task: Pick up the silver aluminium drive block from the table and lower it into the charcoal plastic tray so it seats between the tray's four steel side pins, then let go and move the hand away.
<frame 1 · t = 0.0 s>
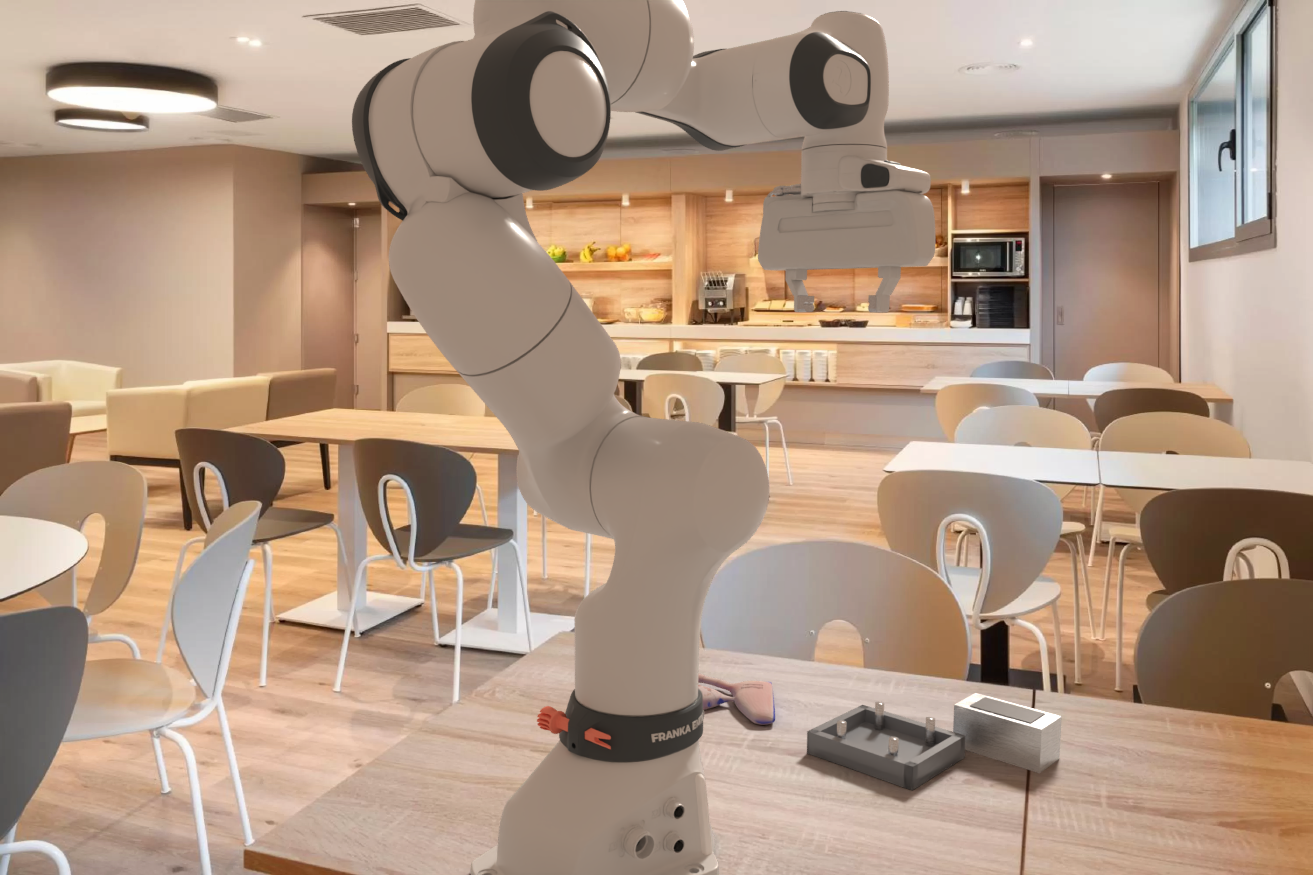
hand: (840, 312, 112), 48 cm above the table, tool pointing down, fingers open, 8 cm apart
drive: (1005, 753, 116), on the table
anatomical model: (691, 705, 131), on the table
pin tray: (885, 755, 115), on the table
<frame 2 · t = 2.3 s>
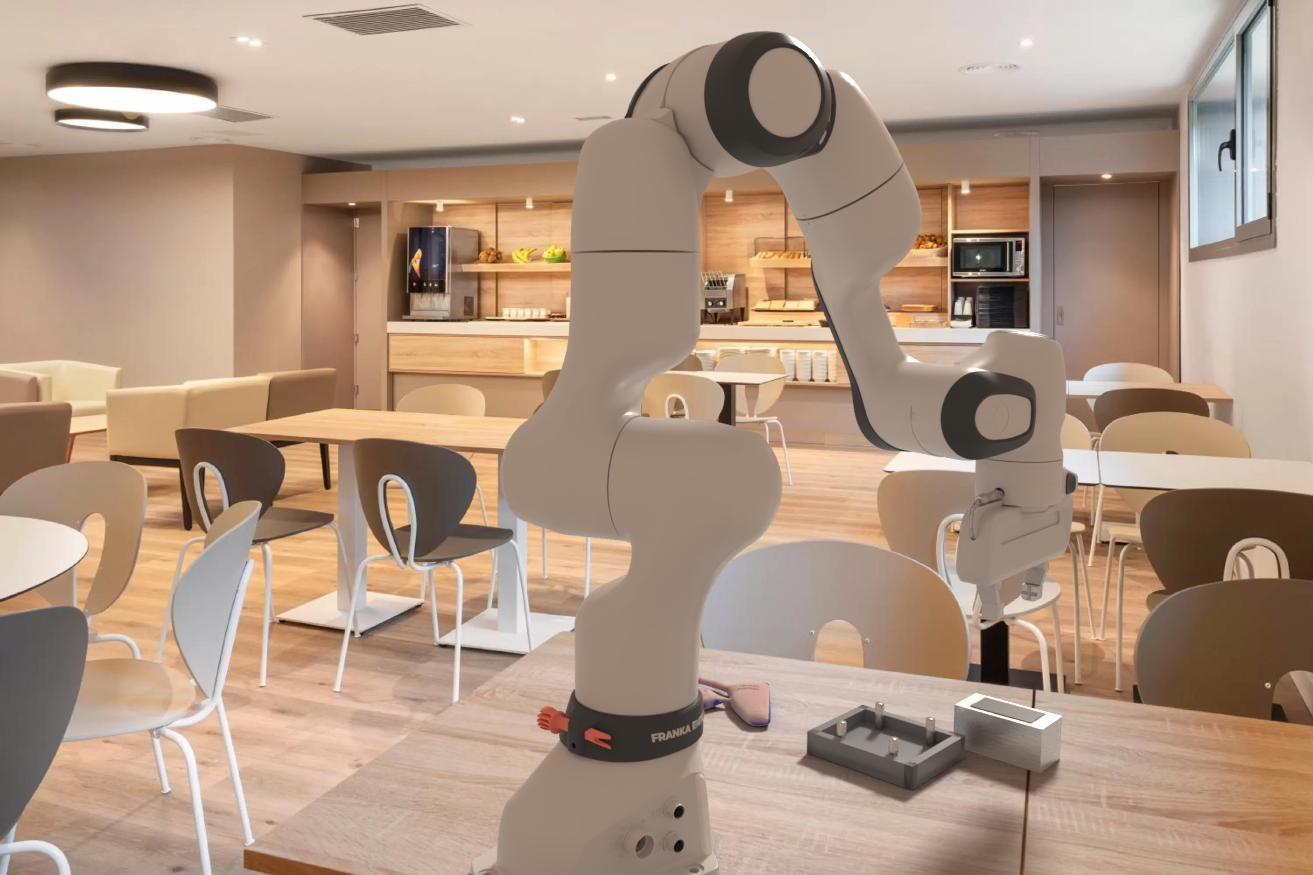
hand: (1012, 608, 115), 16 cm above the table, tool pointing down, fingers open, 8 cm apart
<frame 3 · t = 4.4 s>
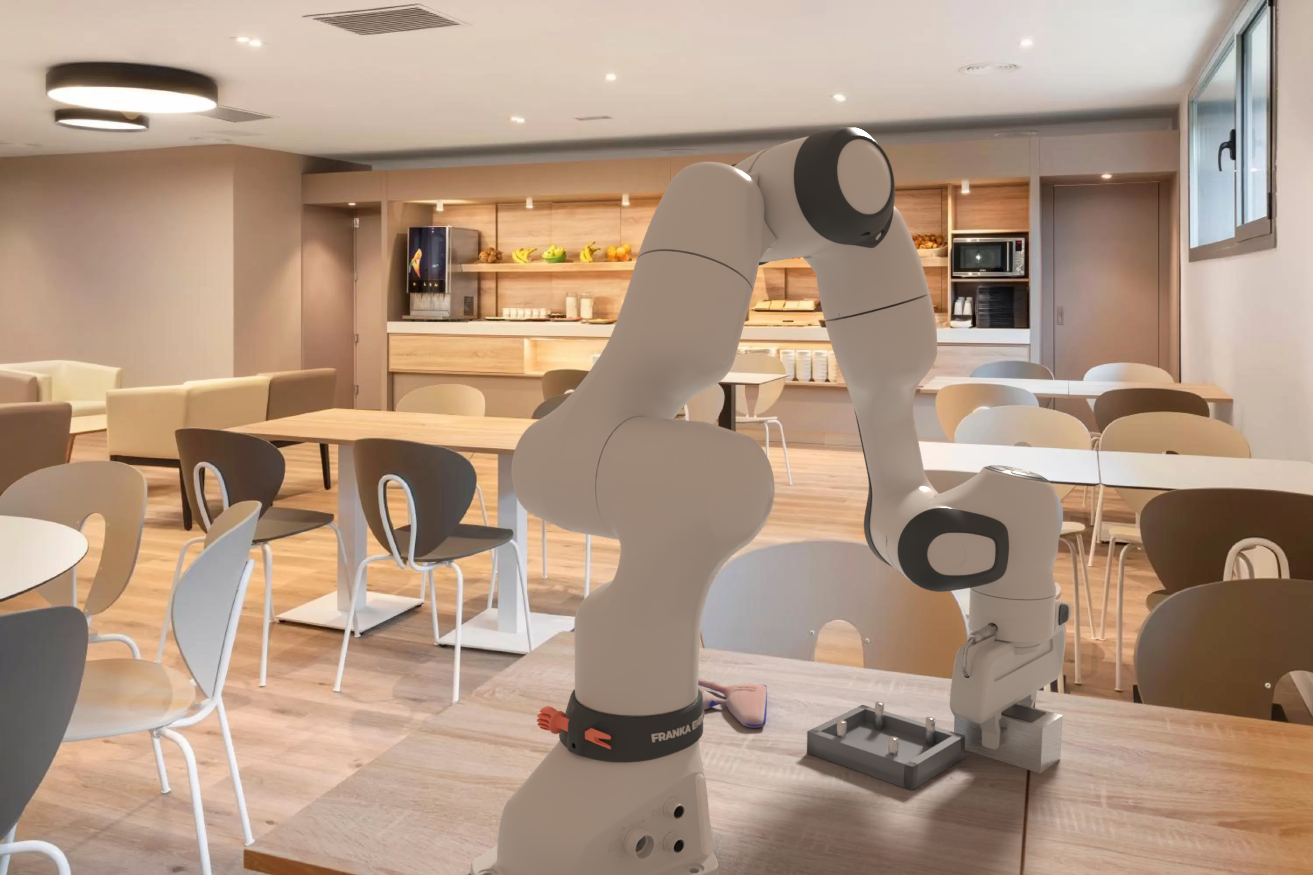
hand: (1005, 737, 116), 2 cm above the table, tool pointing down, fingers closed on drive, 5 cm apart
drive: (1006, 752, 116), on the table, touching gripper
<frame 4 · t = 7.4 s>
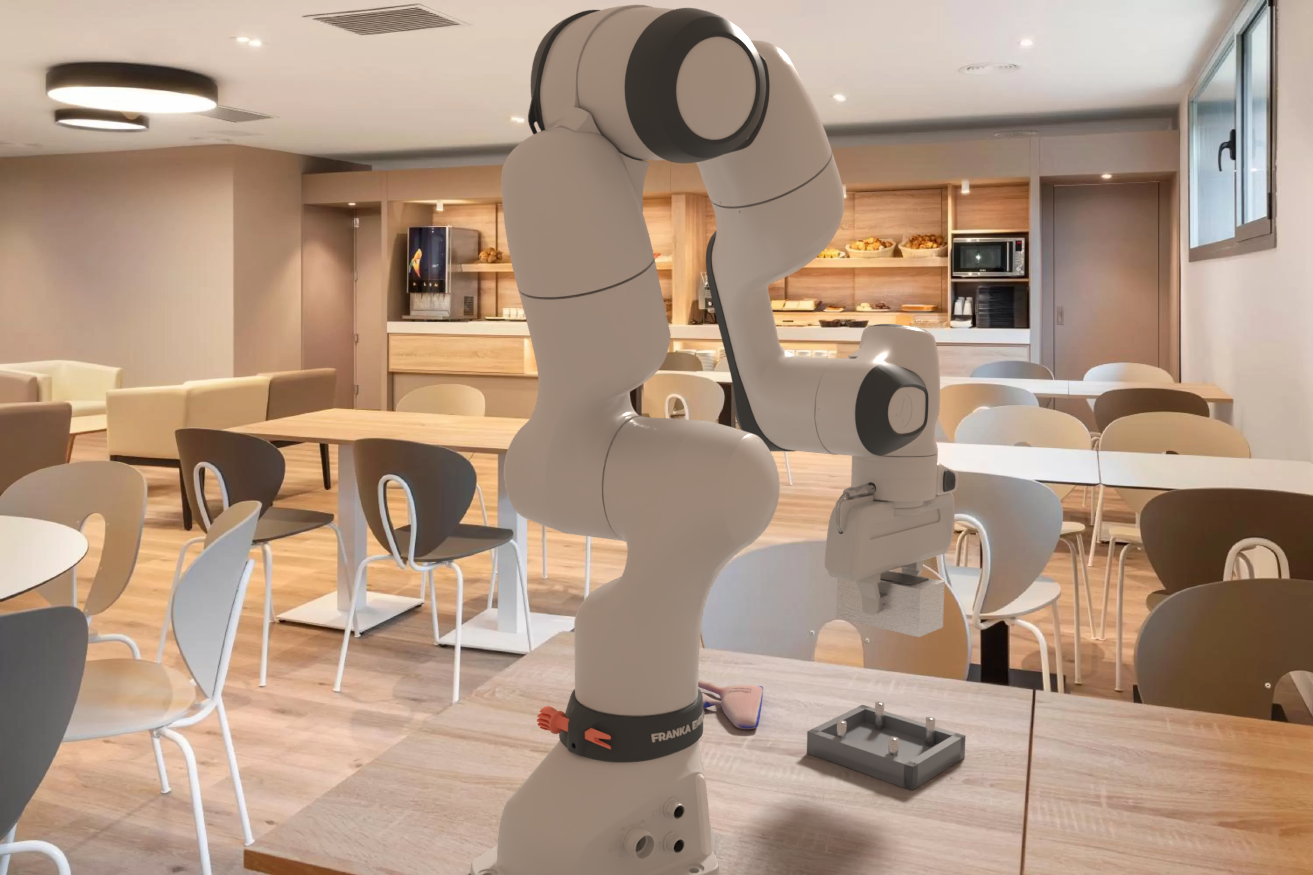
hand: (889, 606, 113), 17 cm above the table, tool pointing down, fingers closed on drive, 5 cm apart
drive: (888, 622, 113), point 15 cm above the table, touching gripper
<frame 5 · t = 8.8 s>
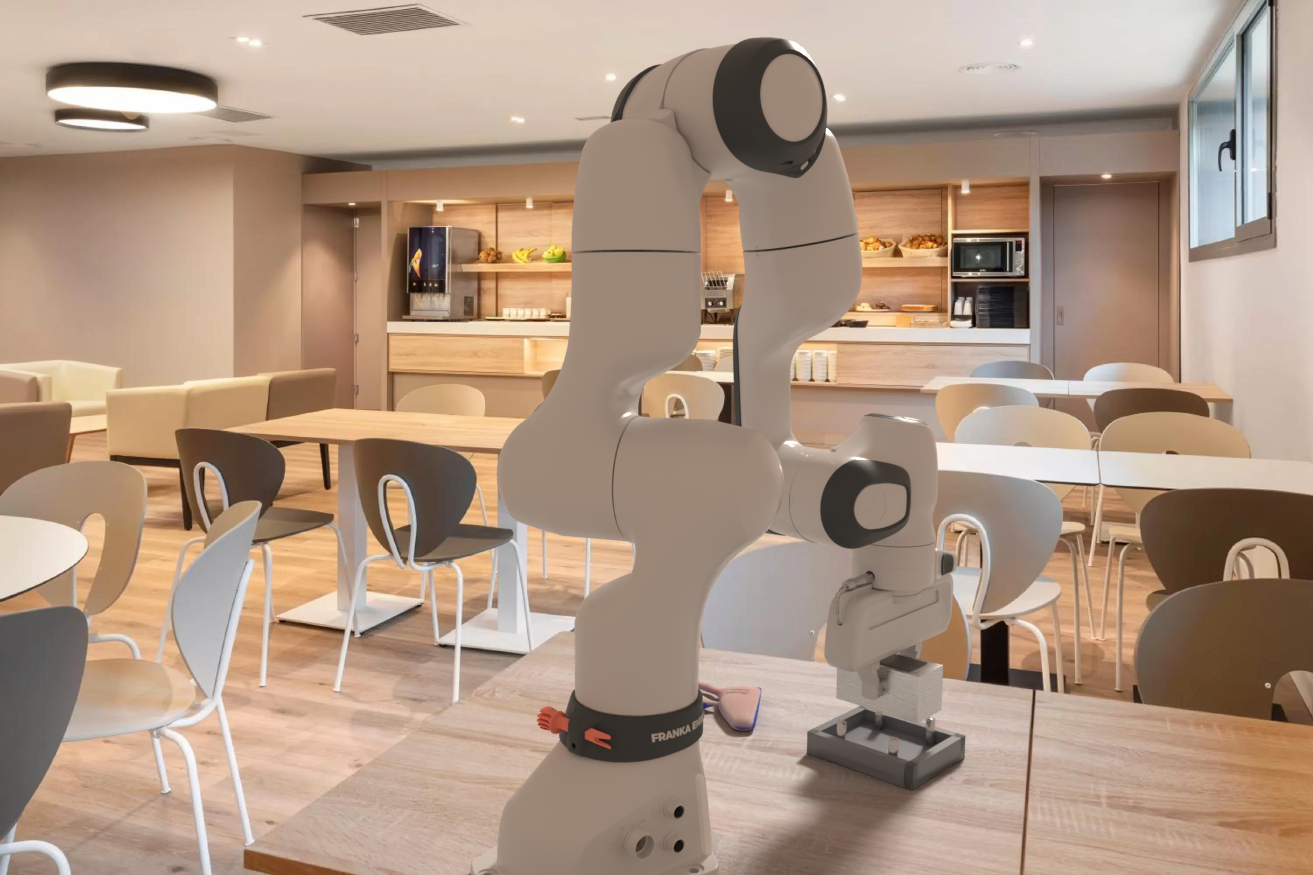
hand: (888, 689, 115), 7 cm above the table, tool pointing down, fingers closed on drive, 5 cm apart
drive: (888, 703, 115), point 6 cm above the table, touching gripper
when the fingers open (5 cm above the table, at t = 10.1 s): drive drops 2 cm, resting on pin tray.
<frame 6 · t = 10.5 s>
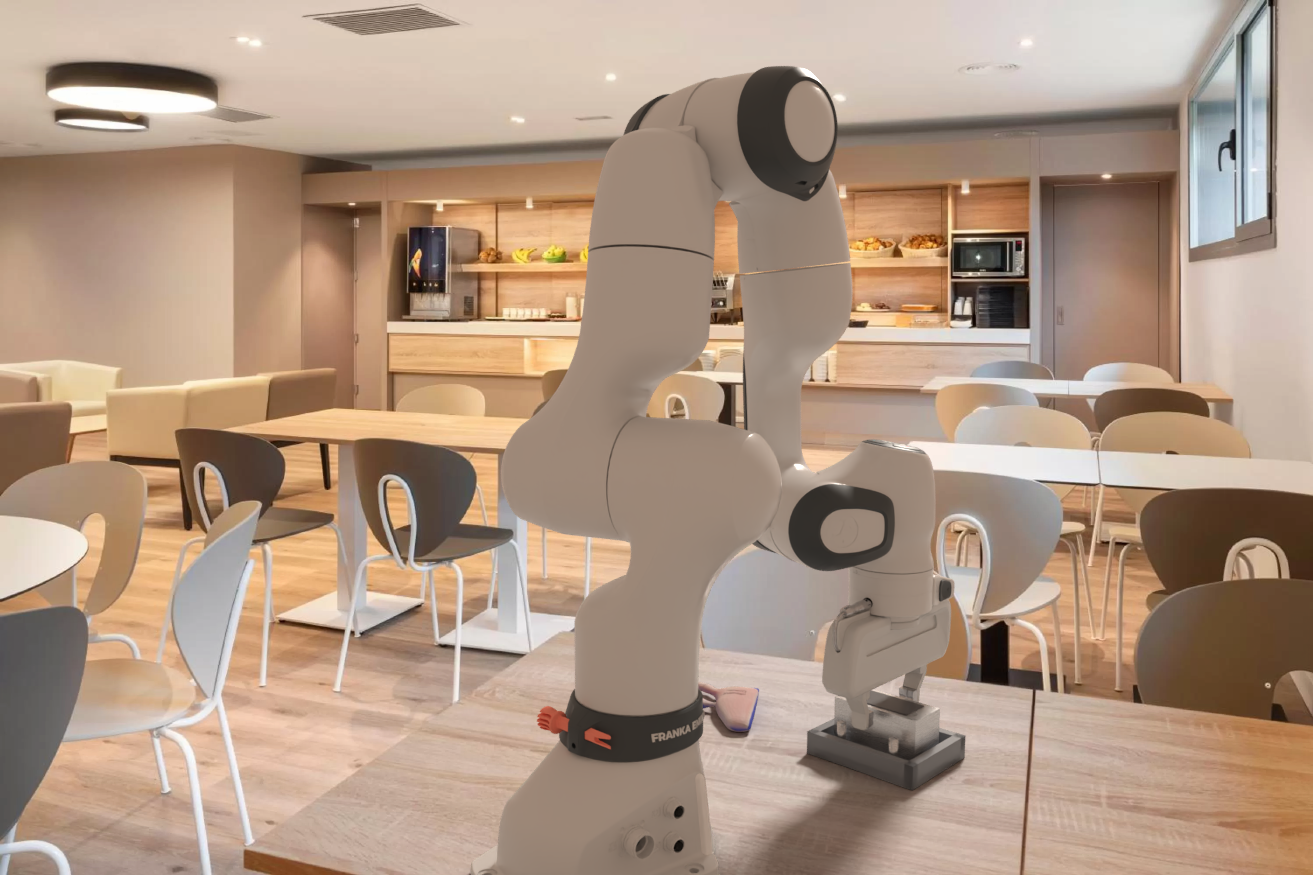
hand: (886, 714, 115), 5 cm above the table, tool pointing down, fingers open, 8 cm apart
drive: (885, 746, 115), point 1 cm above the table, touching pin tray
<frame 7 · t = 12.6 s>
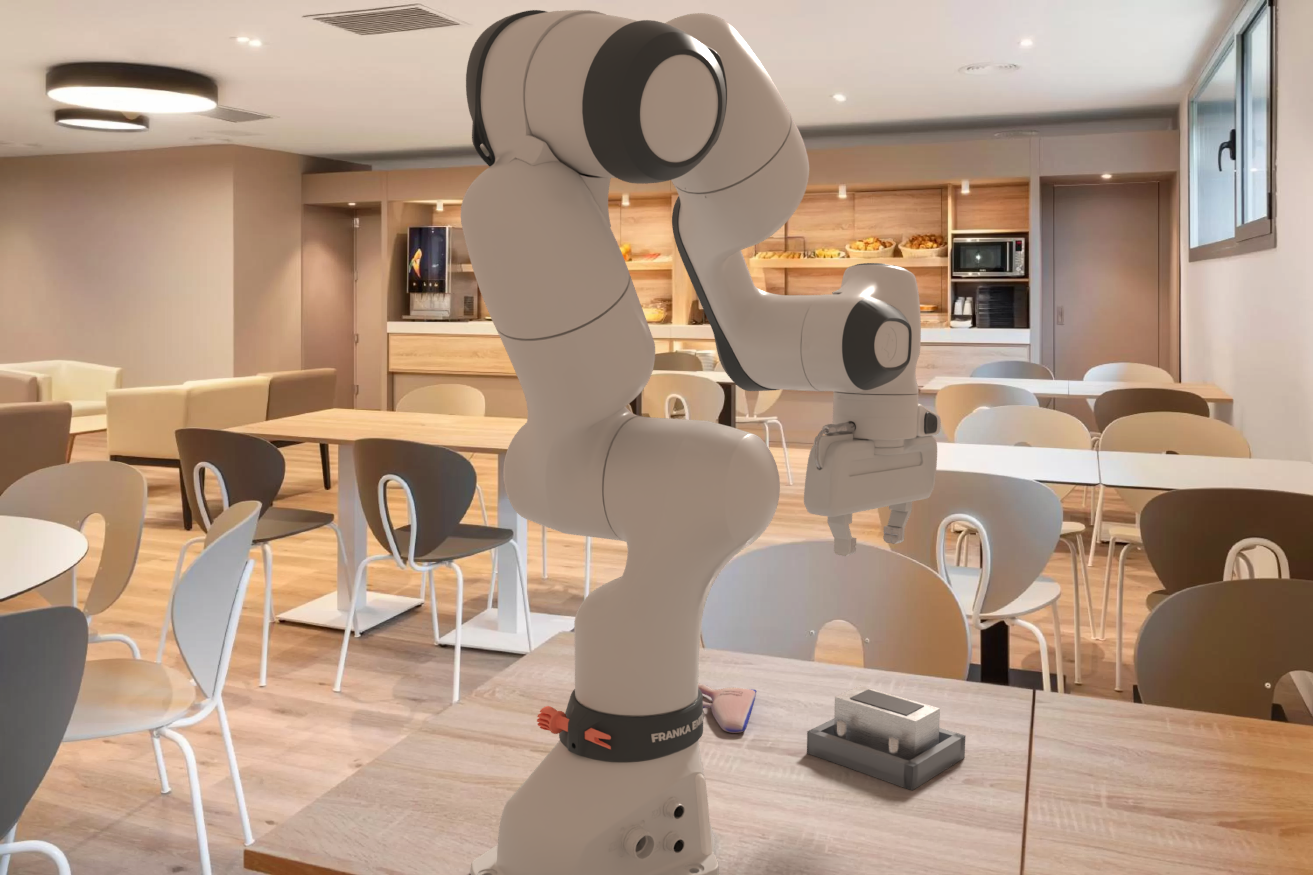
hand: (869, 548, 113), 23 cm above the table, tool pointing down, fingers open, 8 cm apart
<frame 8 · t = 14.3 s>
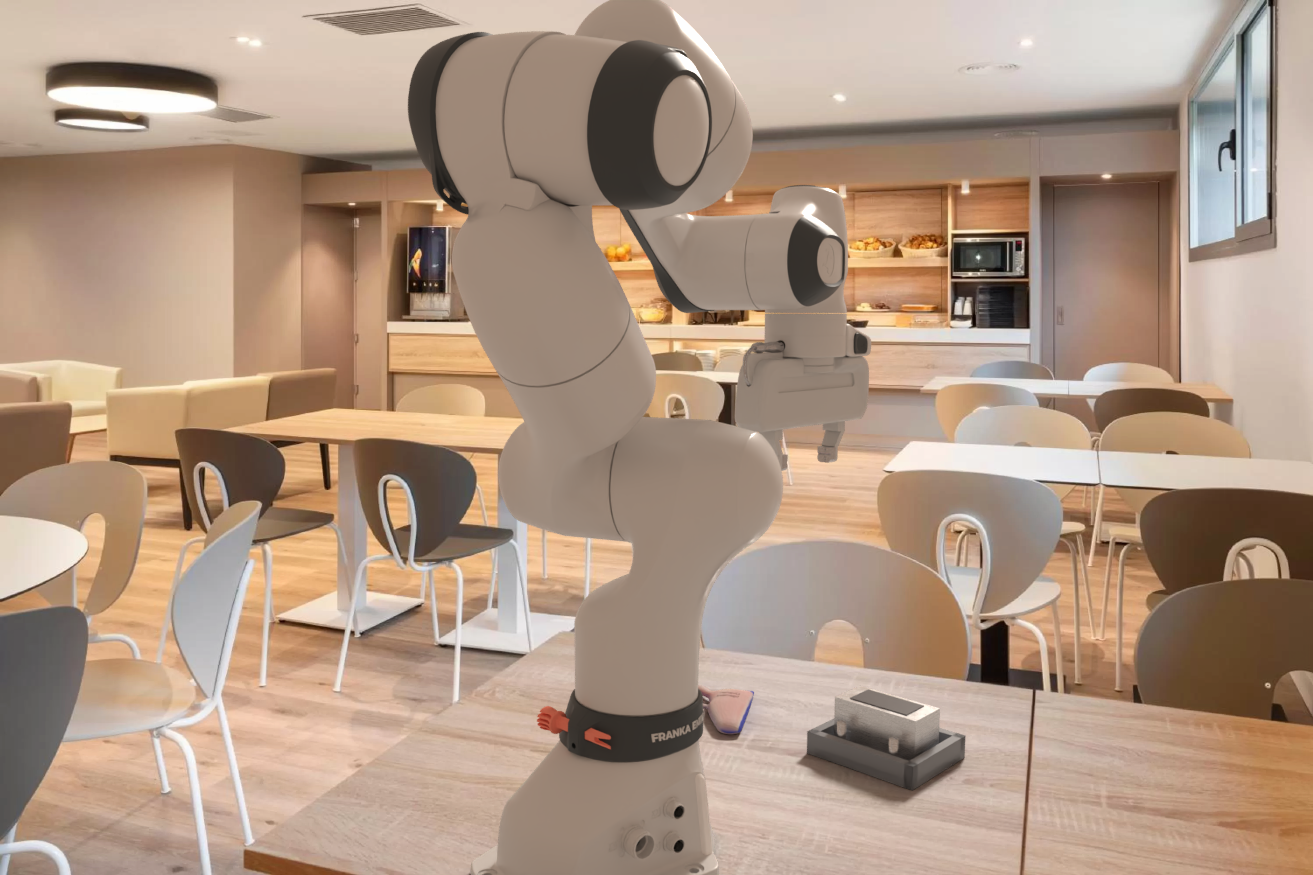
hand: (802, 466, 117), 31 cm above the table, tool pointing down, fingers open, 8 cm apart
at the end: drive 0.0 cm off-centre on the pin tray, point 1.0 cm above the pin tray's base; drive tilted 0°; the gripper is holding nothing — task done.
